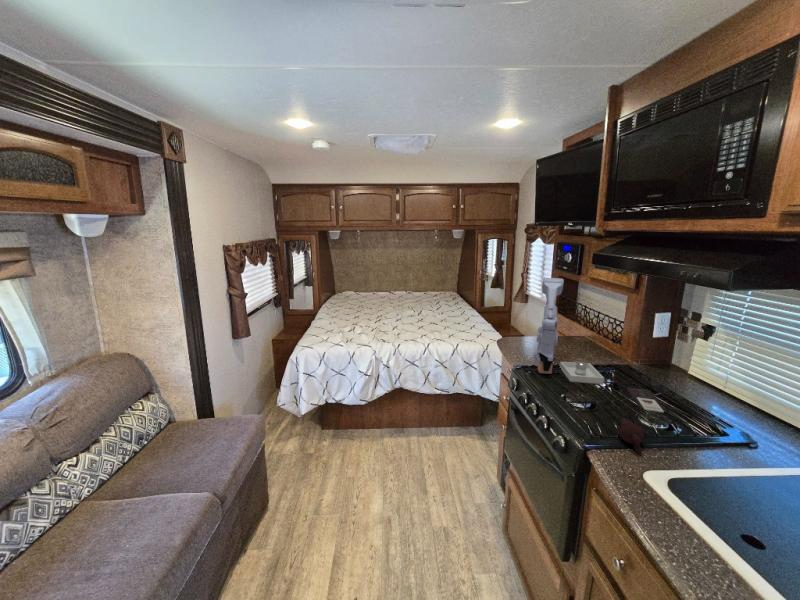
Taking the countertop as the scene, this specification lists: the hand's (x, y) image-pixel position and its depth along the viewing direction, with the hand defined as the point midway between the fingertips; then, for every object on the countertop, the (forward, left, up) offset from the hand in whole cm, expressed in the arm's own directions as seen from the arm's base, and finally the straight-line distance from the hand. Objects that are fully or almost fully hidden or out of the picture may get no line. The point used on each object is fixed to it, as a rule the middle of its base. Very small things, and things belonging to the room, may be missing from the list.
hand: (544, 368), depth 158 cm
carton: (0, 0, -2) cm, 2 cm away
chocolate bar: (+21, +34, -2) cm, 40 cm away
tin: (+1, +16, -1) cm, 16 cm away
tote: (+1, +16, -2) cm, 16 cm away
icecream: (+50, +14, -2) cm, 52 cm away
